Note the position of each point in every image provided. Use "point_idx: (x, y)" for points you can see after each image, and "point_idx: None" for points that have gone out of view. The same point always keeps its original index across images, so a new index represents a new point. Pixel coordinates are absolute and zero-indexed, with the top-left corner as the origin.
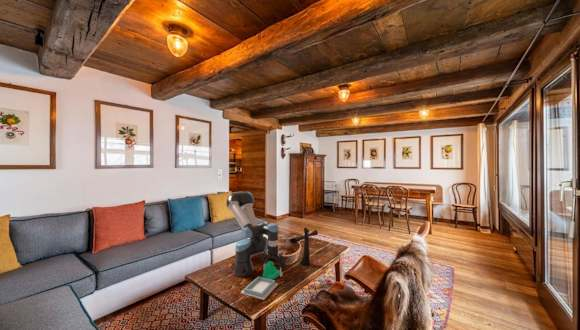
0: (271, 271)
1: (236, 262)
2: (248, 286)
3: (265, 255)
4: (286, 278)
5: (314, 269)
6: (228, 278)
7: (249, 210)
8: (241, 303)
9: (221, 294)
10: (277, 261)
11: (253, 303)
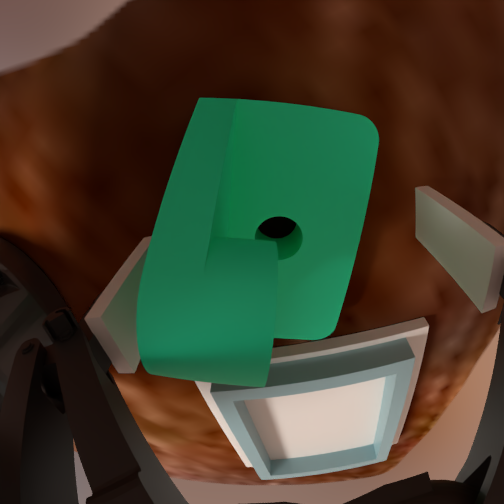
0: (238, 216)
1: None
2: (265, 467)
3: (36, 479)
4: (456, 172)
5: None
6: None
7: None
8: (309, 476)
9: (182, 475)
10: (486, 415)
11: None
